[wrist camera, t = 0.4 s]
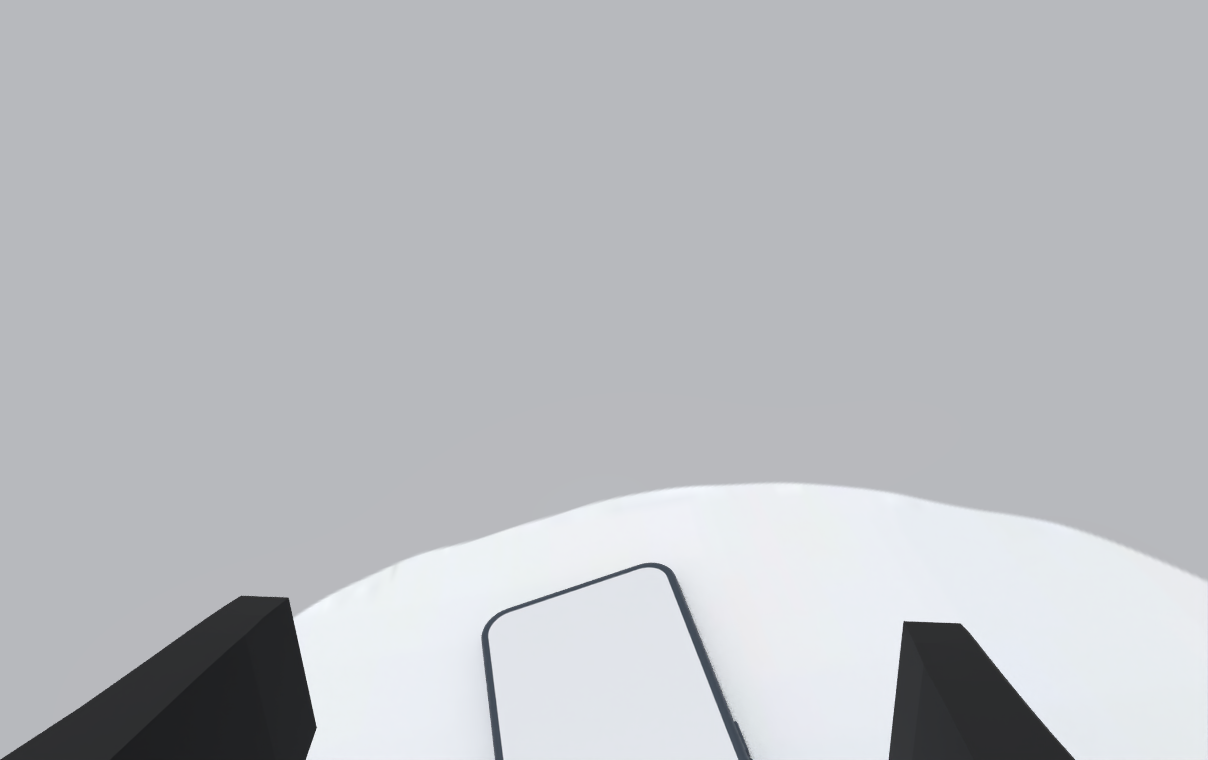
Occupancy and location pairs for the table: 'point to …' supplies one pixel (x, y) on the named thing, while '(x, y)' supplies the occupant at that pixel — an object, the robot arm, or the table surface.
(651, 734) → the phone case
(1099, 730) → the table surface
